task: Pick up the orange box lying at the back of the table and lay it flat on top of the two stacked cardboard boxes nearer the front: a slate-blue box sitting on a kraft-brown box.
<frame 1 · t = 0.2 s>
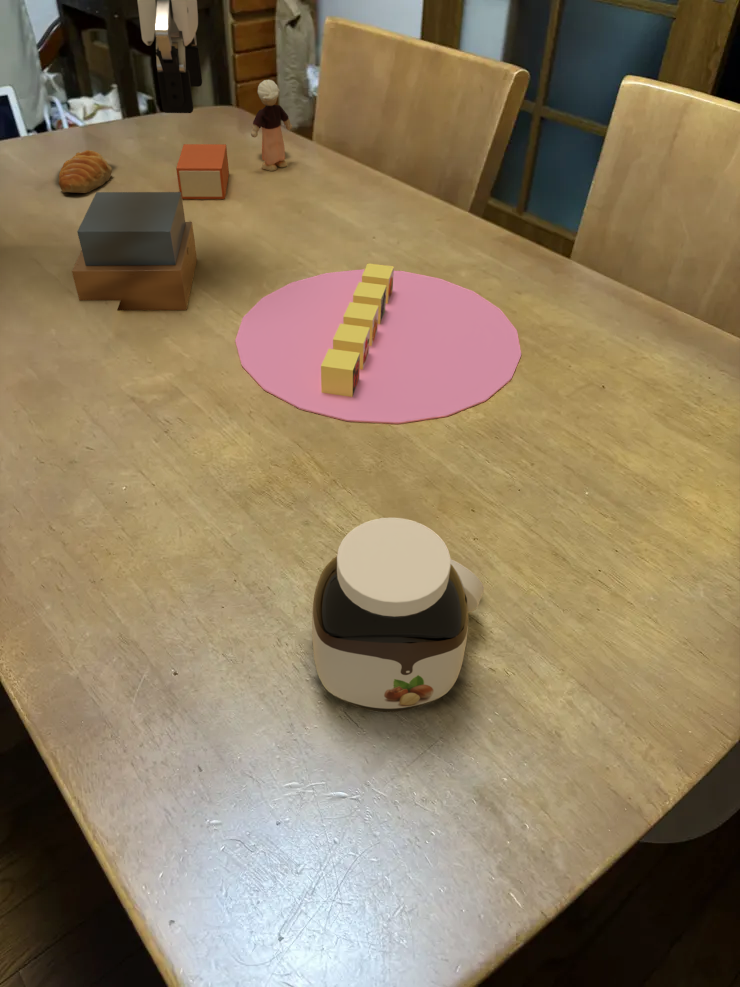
hand: (183, 98, 84), 19 cm above the table, tool pointing down, fingers open, 9 cm apart
platter: (378, 338, 85), on the table
pastry: (86, 184, 115), on the table
orange box: (205, 186, 115), on the table
spread jar: (398, 648, 54), on the table
grandmother figurine: (272, 168, 122), on the table
box stack: (142, 283, 92), on the table
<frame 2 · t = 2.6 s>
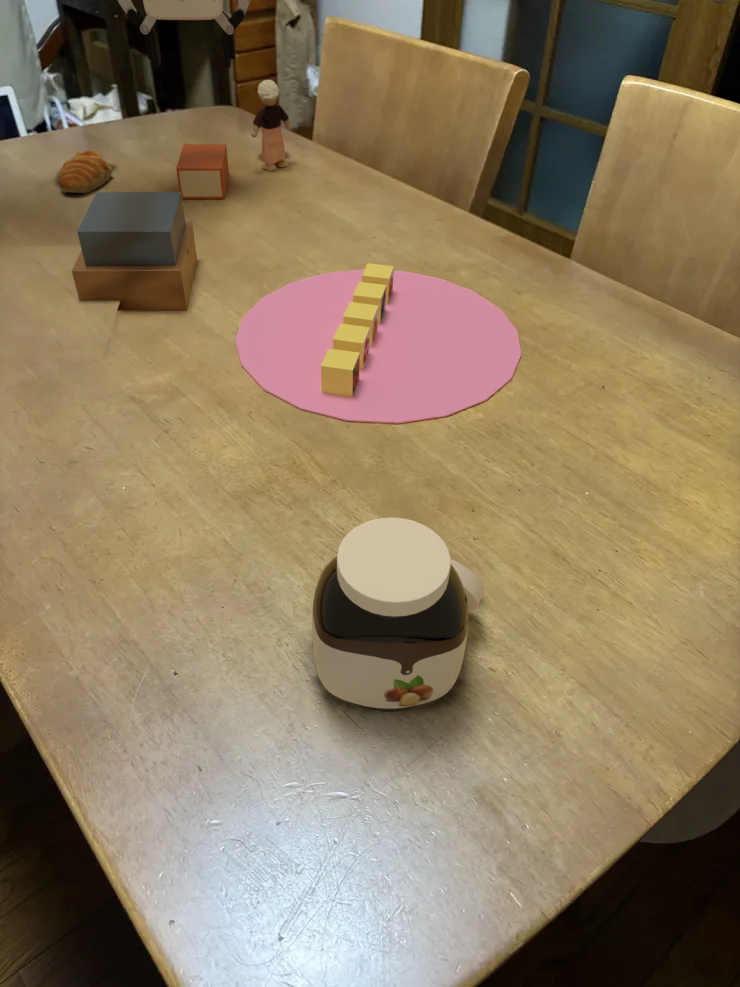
hand: (193, 65, 104), 17 cm above the table, tool pointing down, fingers open, 9 cm apart
nothing on the table moved.
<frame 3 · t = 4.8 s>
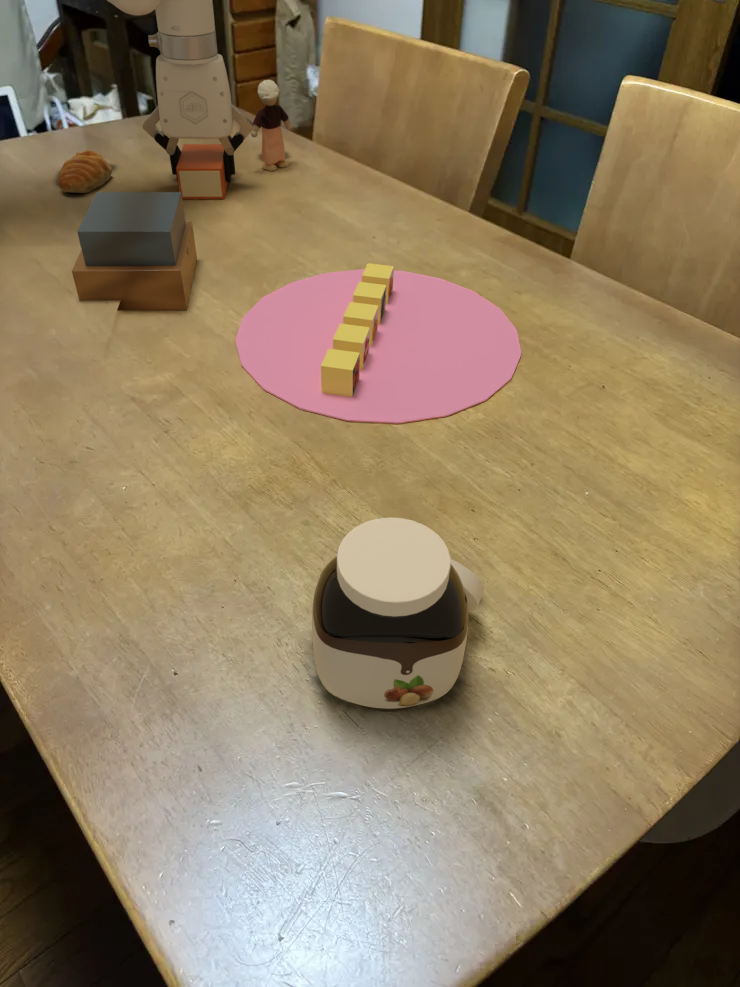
hand: (204, 178, 114), 1 cm above the table, tool pointing down, fingers closed on orange box, 6 cm apart
orange box: (205, 186, 115), on the table, touching gripper
everything else where it was.
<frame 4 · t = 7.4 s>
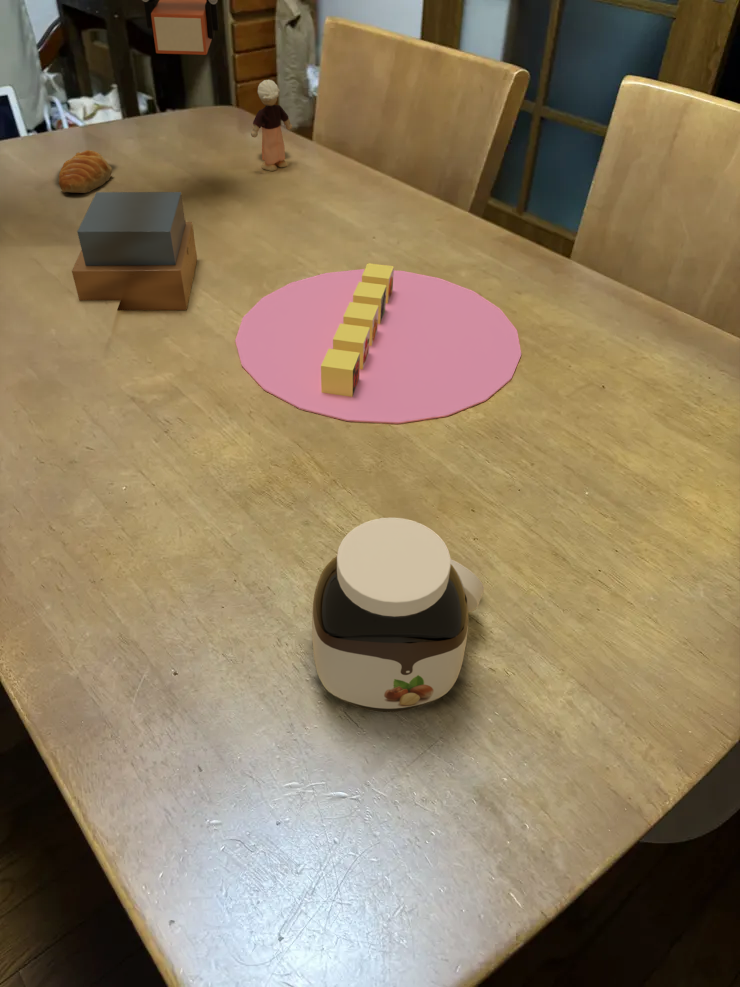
hand: (184, 34, 101), 20 cm above the table, tool pointing down, fingers closed on orange box, 6 cm apart
orange box: (185, 44, 102), point 19 cm above the table, touching gripper
everything else where it was.
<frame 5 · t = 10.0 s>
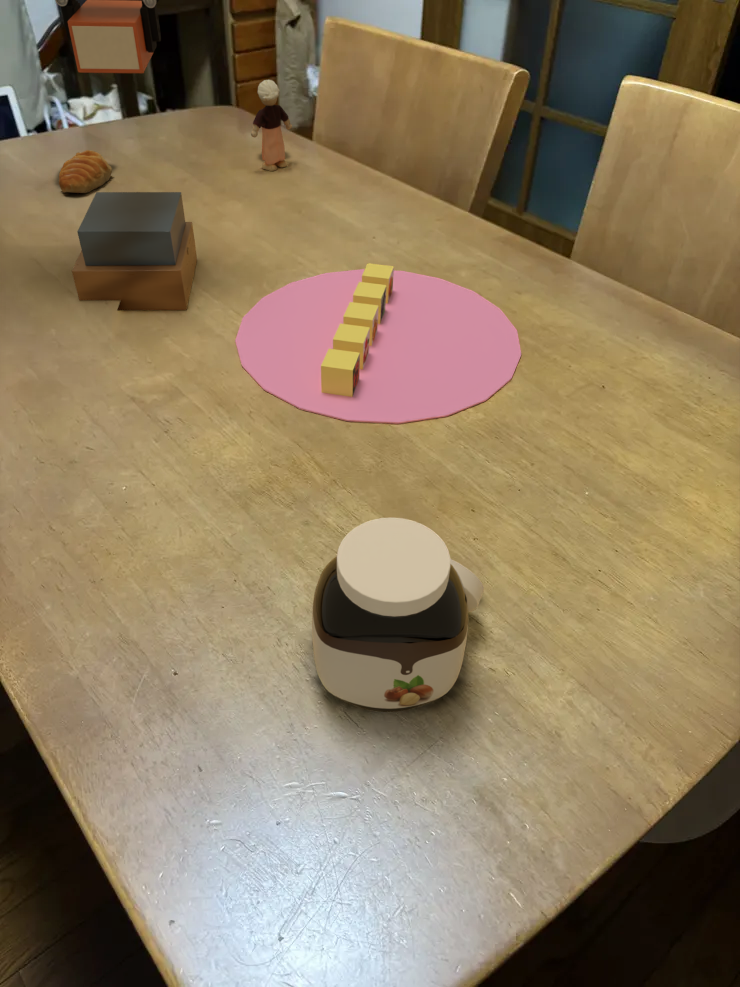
hand: (116, 47, 79), 25 cm above the table, tool pointing down, fingers closed on orange box, 6 cm apart
orange box: (118, 59, 80), point 23 cm above the table, touching gripper
everything else where it was.
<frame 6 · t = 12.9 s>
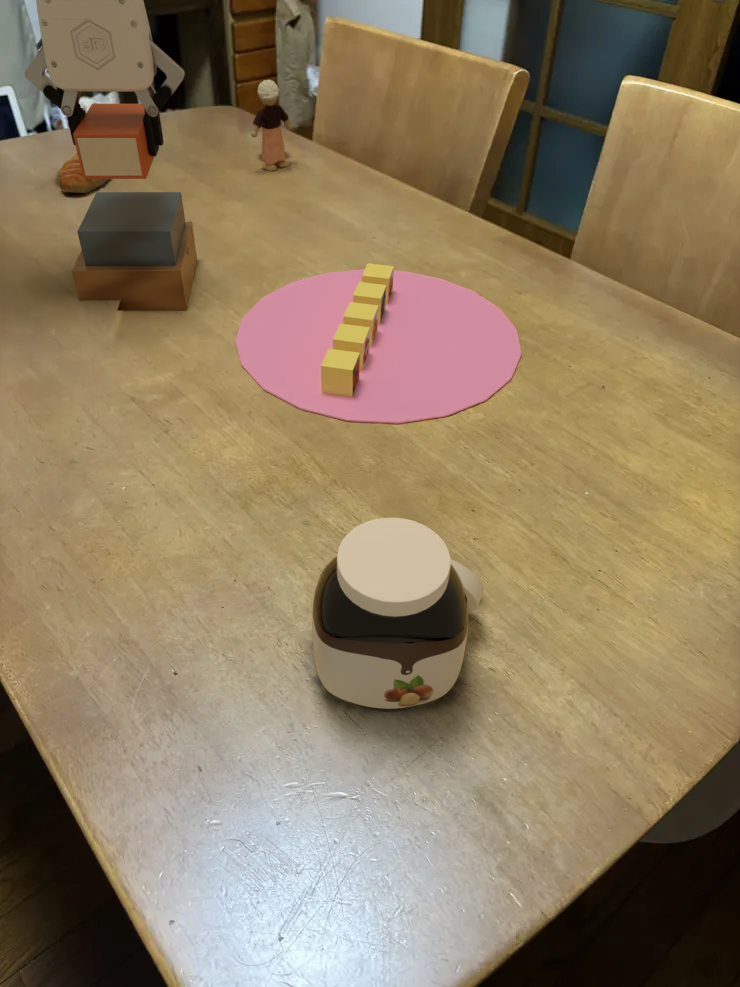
hand: (120, 150, 82), 16 cm above the table, tool pointing down, fingers closed on orange box, 6 cm apart
orange box: (122, 161, 82), point 14 cm above the table, touching gripper
everything else where it was.
when the fingers open (10 cm above the table, at t = 15.0 s): orange box stays where it is, resting on box stack.
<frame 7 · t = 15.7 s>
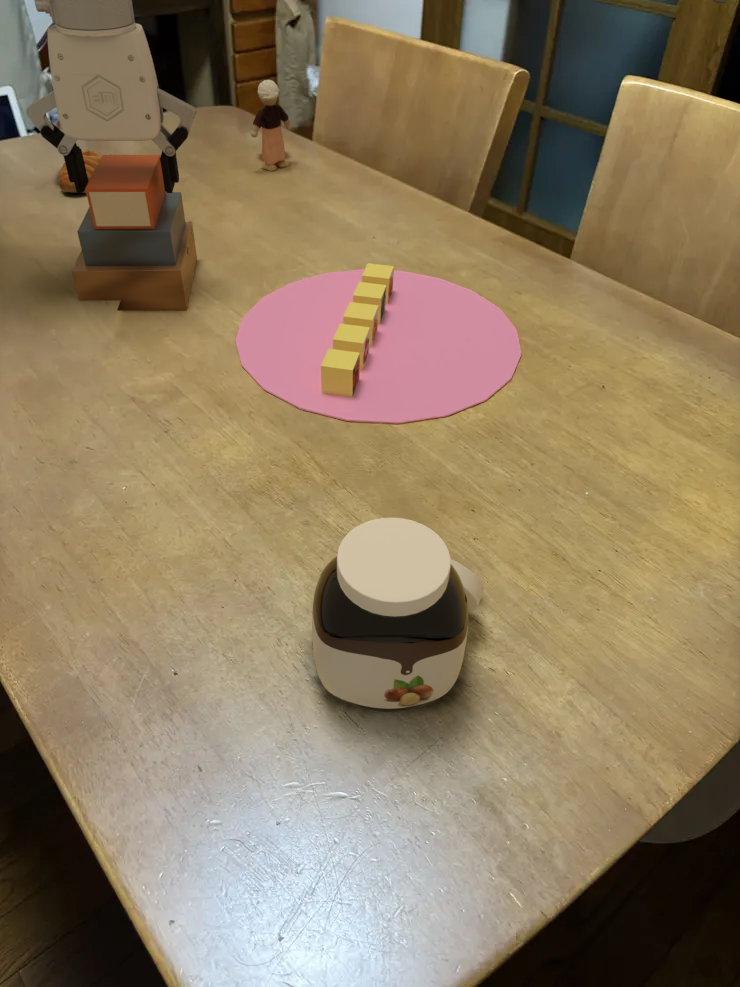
hand: (126, 188, 84), 12 cm above the table, tool pointing down, fingers open, 9 cm apart
orange box: (131, 210, 86), point 9 cm above the table, touching box stack
everything else where it was.
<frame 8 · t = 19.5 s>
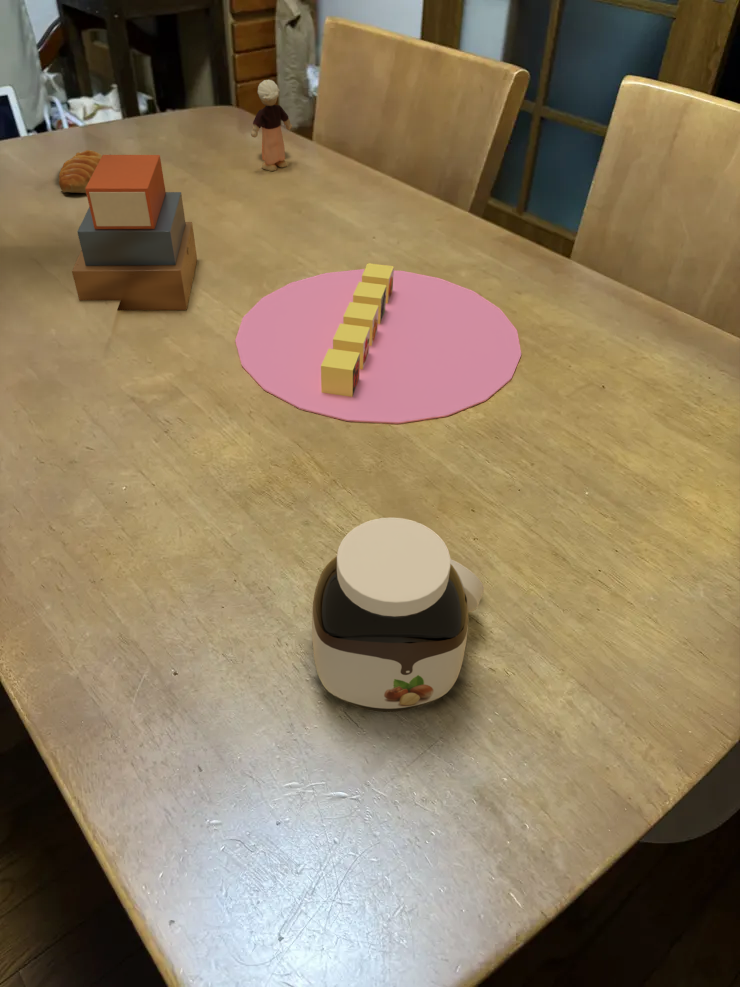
nothing on the table moved.
at the end: orange box inside the target area on the box stack (0.1 cm from its centre), point 9.0 cm above the box stack's base; orange box tilted 0°; the gripper is holding nothing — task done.
